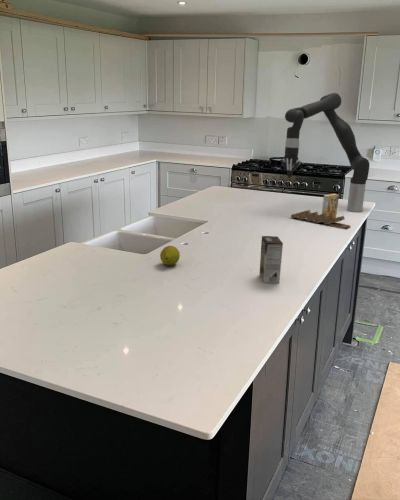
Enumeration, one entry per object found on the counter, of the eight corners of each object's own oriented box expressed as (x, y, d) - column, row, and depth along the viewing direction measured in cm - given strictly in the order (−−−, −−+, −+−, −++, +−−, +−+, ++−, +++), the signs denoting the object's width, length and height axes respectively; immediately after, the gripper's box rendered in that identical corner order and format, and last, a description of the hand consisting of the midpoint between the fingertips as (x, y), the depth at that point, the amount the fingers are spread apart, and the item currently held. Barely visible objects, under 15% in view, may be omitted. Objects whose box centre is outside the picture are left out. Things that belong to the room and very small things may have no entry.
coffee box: (258, 274, 202) (261, 235, 198) (274, 274, 203) (277, 235, 198) (263, 283, 194) (266, 242, 189) (279, 283, 194) (283, 242, 190)
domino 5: (327, 219, 286) (343, 215, 279) (328, 223, 286) (344, 219, 279) (323, 221, 282) (340, 217, 276) (324, 224, 282) (341, 220, 276)
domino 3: (310, 216, 292) (326, 212, 285) (311, 220, 292) (327, 216, 285) (306, 218, 288) (322, 214, 281) (307, 221, 288) (323, 217, 281)
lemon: (166, 260, 217) (166, 241, 214) (183, 262, 214) (183, 244, 212) (155, 267, 207) (155, 248, 205) (172, 270, 204) (172, 251, 202)
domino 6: (333, 222, 284) (350, 225, 278) (333, 225, 284) (350, 228, 279) (329, 223, 280) (346, 227, 274) (328, 227, 281) (346, 230, 275)
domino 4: (318, 218, 289) (334, 214, 282) (319, 221, 289) (335, 217, 282) (314, 220, 285) (330, 215, 279) (315, 223, 285) (331, 219, 279)
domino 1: (294, 213, 298) (309, 209, 291) (295, 217, 298) (310, 213, 291) (290, 215, 294) (305, 211, 288) (291, 218, 294) (306, 214, 288)
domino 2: (301, 215, 295) (317, 211, 289) (302, 218, 295) (318, 214, 289) (297, 216, 291) (313, 212, 285) (298, 220, 291) (314, 216, 285)
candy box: (330, 219, 295) (333, 193, 290) (336, 221, 292) (339, 194, 287) (320, 221, 290) (323, 195, 285) (326, 223, 287) (329, 196, 282)
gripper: (278, 145, 290) (276, 176, 295) (299, 147, 282) (296, 179, 287) (284, 144, 295) (282, 174, 300) (305, 146, 288) (302, 177, 293)
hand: (289, 176), depth 294 cm, fingers closed
